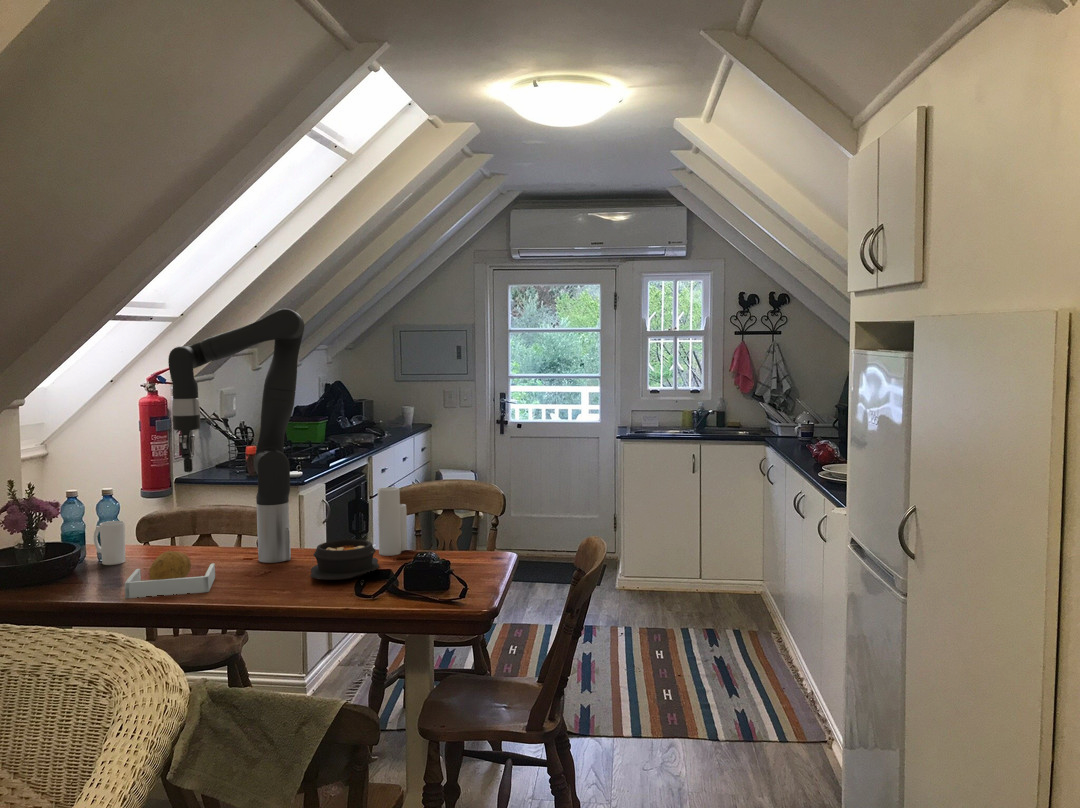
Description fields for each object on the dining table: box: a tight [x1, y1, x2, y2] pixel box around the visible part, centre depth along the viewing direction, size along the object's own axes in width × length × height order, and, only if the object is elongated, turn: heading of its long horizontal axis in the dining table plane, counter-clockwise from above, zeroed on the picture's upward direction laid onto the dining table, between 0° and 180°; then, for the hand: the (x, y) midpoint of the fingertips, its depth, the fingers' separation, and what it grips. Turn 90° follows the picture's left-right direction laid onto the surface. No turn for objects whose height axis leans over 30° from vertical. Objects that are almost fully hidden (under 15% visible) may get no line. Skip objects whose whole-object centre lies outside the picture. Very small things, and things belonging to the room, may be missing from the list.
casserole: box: [309, 538, 380, 581], centre depth 241 cm, size 25×19×8 cm
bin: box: [124, 563, 216, 600], centre depth 230 cm, size 20×15×4 cm
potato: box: [148, 550, 192, 580], centre depth 231 cm, size 10×13×9 cm
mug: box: [93, 520, 126, 566], centre depth 259 cm, size 10×7×12 cm, turn 75°
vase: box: [377, 486, 408, 557], centre depth 268 cm, size 11×7×20 cm, turn 169°
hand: (188, 471), depth 258 cm, fingers closed
